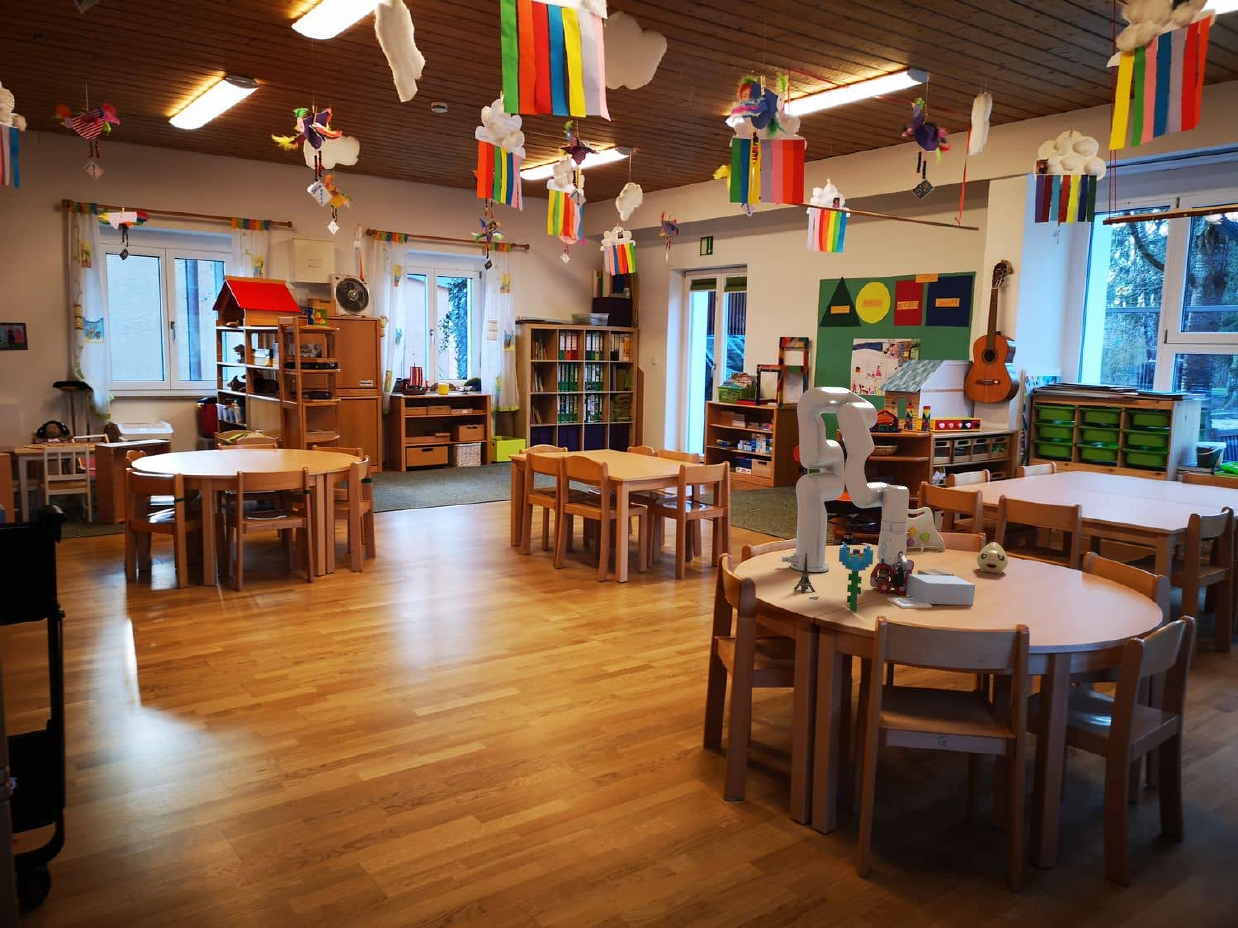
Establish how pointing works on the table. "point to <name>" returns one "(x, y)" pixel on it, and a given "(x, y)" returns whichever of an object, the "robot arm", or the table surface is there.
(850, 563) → the toy flower
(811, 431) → the robot arm
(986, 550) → the yellow animal figurine
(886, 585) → the toy fire truck
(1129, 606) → the table surface
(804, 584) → the eiffel tower figurine
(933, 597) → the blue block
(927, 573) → the tan block
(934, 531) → the shape sorter
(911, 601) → the tile
